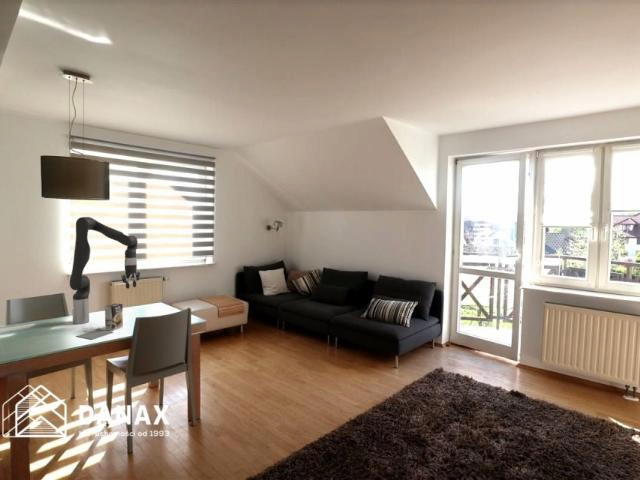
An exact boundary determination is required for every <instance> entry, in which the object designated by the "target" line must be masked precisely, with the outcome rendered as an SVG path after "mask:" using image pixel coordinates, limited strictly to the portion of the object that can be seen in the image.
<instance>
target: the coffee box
mask: <svg viewBox="0 0 640 480" xmlns="http://www.w3.org/2000/svg"><path fill="white" fill-rule="evenodd" d="M123 309H124V308H123V303H112V304H109V305H105V306H104V321H105V323H104V324H105V325H104V330H107V331H112V332H114V331H115V330H118V329H120V328H122V327H124V323H123V322H124V319H123V317H124V315H123Z"/></svg>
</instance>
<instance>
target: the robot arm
mask: <svg viewBox="0 0 640 480" xmlns="http://www.w3.org/2000/svg"><path fill="white" fill-rule="evenodd" d="M89 231H95V232H98V233H100V234H102V235H104V236H105V237H106V238H109V239H110V240H114V241H116V242H118V243H119V244H121V245H123V246H126V249H125V251H124V271H125V273H124V274H121V275H120V276H121V280H122V283H123V284H125V288H126V289H128V290H129V289H130V281H131V280H132V287H133V288H136V287H137V282H138V281H140V276H141V272H139V271H137V269H138V267H137V266H138V264H137V261H138V260H137V249H138V238H137V237H136V236H135V235H127V234H124V232H122V231H120V230H118V229H115V228H112V227H110V226H108V225H105V224H103V223H101V222H99V221H98V220H97V219H94V218H93V217H90V216H82V217H79V218H77V220H76V223H75V242H74V251H73V262H72V268H71V269H72V270H71V275H70V277H69V278H70V279H69V287H70V289H71V290H72V291H76V292H74V294H73V295H72V311H71V312H72V323H73V324H74V325H82V324H87V323H89V322H90V303H89V302H90V301H89V298H90V297H89V296H90V291H91V281H90V278H89V277H88V276H87V275H84V274H83V273H84V270H85V267H86V266H87V265H88V262H89V260H90V259H91V257H90V256H91V247H90V246H91V245H90V243H89V240H88V239H89V238H88V236H89V235H88V234H89Z"/></svg>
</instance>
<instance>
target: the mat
mask: <svg viewBox="0 0 640 480" xmlns="http://www.w3.org/2000/svg"><path fill="white" fill-rule="evenodd" d="M114 332H115V331H111V330H105V329H101V328H98V329H94V330H91V331H87V332H85V333H82V334H78V335H76V337H77V338H81V339H85V340H91V341H92V340H95V339H100V338H101V337H104V336H107V335H111V334H113V333H114Z"/></svg>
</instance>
